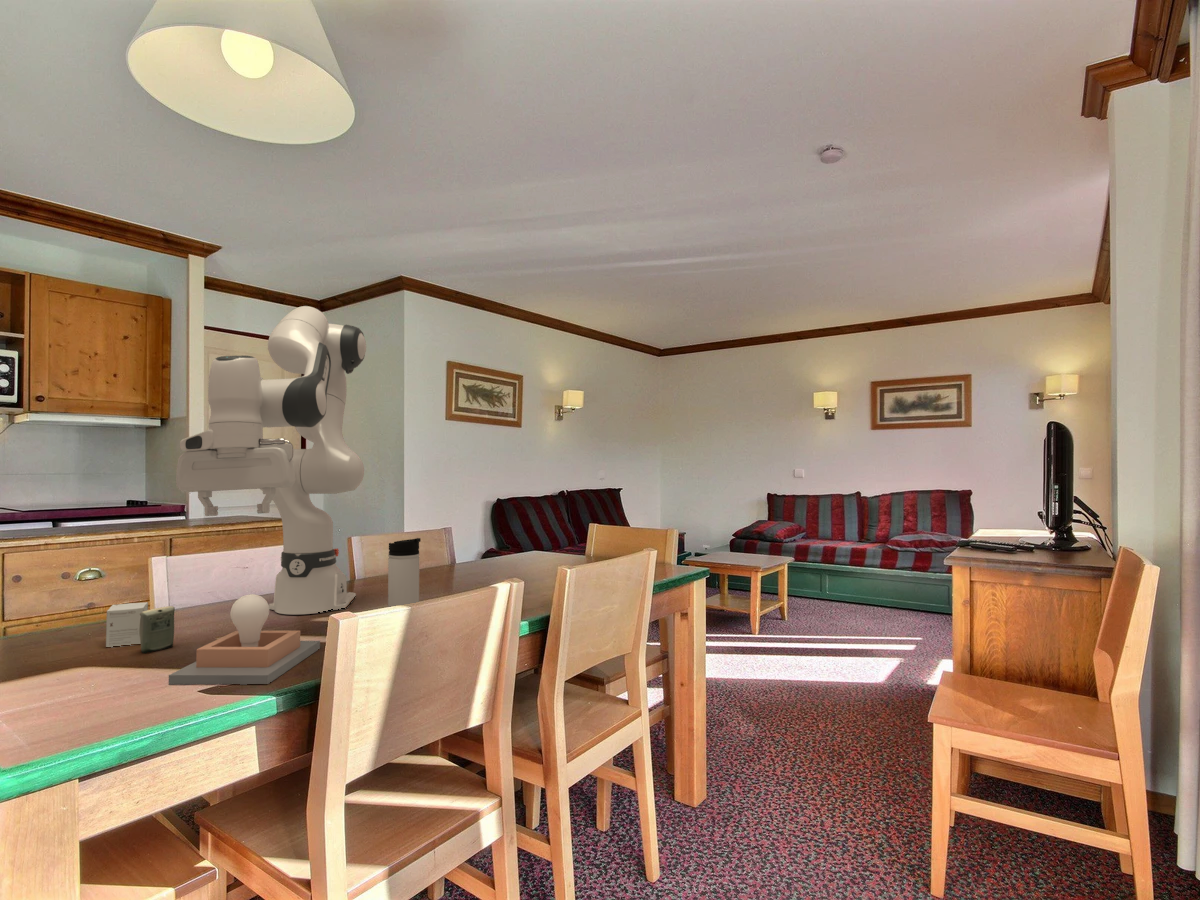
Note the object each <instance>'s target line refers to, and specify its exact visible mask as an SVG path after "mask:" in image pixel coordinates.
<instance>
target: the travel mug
mask: <svg viewBox="0 0 1200 900" xmlns="http://www.w3.org/2000/svg"><path fill="white" fill-rule="evenodd" d="M420 542H422V541H421V537H416V538H412V539H411V538H410V539H404V540H397V541H393V542H389V543H388V559H387V561H388V562H387V563H388V564H387V565H388V568H387V569H388V571H387V575H388V577H387V579H388V580H387V581H388V582H387V608H388V607H391V606H396V605H404V604H410V603H416V602H419V603H420V550H419V549H420Z"/></svg>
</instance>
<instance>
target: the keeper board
mask: <svg viewBox="0 0 1200 900" xmlns="http://www.w3.org/2000/svg"><path fill="white" fill-rule="evenodd" d="M318 649H319V650H320V649H321V640H301V630H261V633H260V640H259V641H258V647H242V646H241V643H240V637H239V633H238V630H235V631H232V632H230V633H228V634H226V635H224V636H222V637H219V638H218V639H216V640H213V641H211V642H209V643H207V644H205V645H203V646H201V647H198V648H197V649H196V653H195V654H196V659H195V660H196V661H194V662H192V663H190V664H188V665H186V666H184V667H182V668H181V669H178V670H176V671H174V672H172V673H170V674H168V685H191V684H205V686H206V684H210V685H211V684H215V685H216V684H224V686H225V684H228V685H229V684H240V685H242V686H243V685H244V686H245V685H247V684H268V685H269V684H270V682H271V683H272V682H273V681H275V680H276V679H278V678H279V677H281V676H282V675H284V674H285V673H287V672H288V671H290V670H291V669H293V668H294V667H295V666H297V665H299V664H300V663H301V662H302V661H304V660H305V659H307V658H308V657H310V656H311V655H313V654H314V653H316V652H317V651H318ZM229 686H230V685H229Z"/></svg>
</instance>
